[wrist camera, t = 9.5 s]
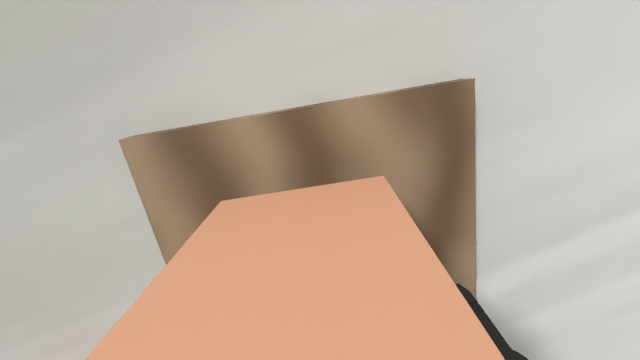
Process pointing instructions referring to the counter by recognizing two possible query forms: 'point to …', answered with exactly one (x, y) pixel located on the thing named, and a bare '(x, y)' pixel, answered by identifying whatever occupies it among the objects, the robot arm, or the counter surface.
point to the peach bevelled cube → (303, 286)
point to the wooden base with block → (324, 163)
